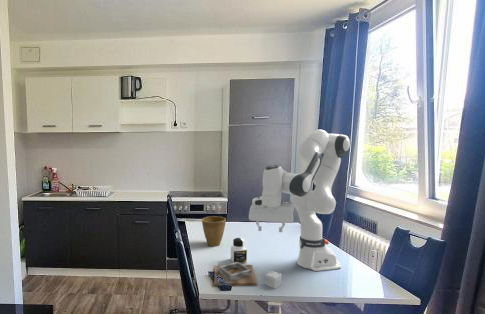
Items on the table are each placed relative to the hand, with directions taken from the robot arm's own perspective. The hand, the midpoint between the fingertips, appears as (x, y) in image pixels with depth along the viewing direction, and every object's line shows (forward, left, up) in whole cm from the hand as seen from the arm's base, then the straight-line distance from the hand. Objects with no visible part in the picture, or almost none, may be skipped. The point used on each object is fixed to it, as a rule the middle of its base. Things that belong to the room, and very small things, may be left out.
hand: (270, 231), depth 132 cm
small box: (-1, +3, -24) cm, 24 cm away
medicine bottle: (+13, -24, -24) cm, 36 cm away
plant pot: (+27, -50, -24) cm, 61 cm away
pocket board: (+16, -6, -23) cm, 29 cm away
